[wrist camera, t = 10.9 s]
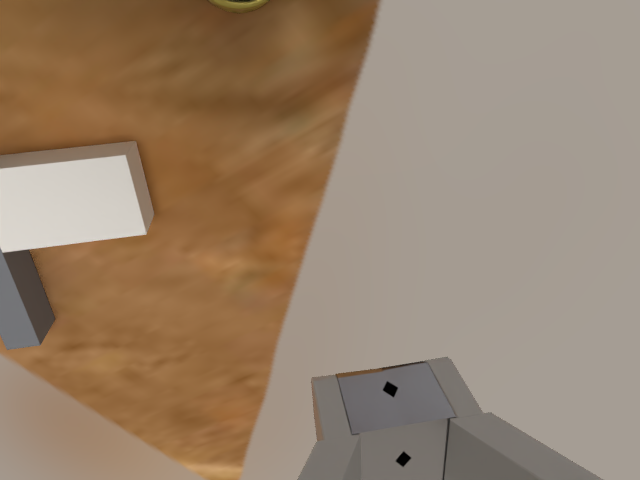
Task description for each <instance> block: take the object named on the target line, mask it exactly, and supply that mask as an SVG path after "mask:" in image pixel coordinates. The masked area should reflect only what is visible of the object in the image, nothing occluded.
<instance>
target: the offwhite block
mask: <svg viewBox="0 0 640 480" xmlns="http://www.w3.org/2000/svg"><path fill="white" fill-rule="evenodd" d="M153 216H154V211H153V207H152V203H151V199H150V195H149V191H148V187H147V183H146V179H145V175H144V171H143V167H142V163H141V159H140V155H139V151H138V147H137V143H136V141H129V142H120V143H111V144H101V145H92V146H82V147H73V148H64V149H54V150H45V151H35V152H26V153H17V154H7V155H0V248H1V250H2V253H3V252H11V251H19V250H27V249H35V248H43V247H51V246H58V245H66V244H74V243H82V242H90V241H98V240H106V239H113V238H121V237H129V236H137V235H145V234H147V232H148V229H149V227H150V224H151V222H152V219H153Z"/></svg>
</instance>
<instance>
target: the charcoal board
mask: <svg viewBox="0 0 640 480" xmlns="http://www.w3.org/2000/svg"><path fill="white" fill-rule="evenodd" d="M54 320H55V317H54V315H53V312H52V309H51V307H50V304H49V302H48V299H47V296H46V294H45V291H44V289H43V286H42V283H41V281H40V278H39V275H38V273H37V270H36V268H35V265H34V262H33V260H32V257H31V255H30V252H29V249H27V250H19V251H11V252H3V253H2V250H1V248H0V335H1V337H2V340H3V342H4V344H5V346H6V348H7V350H9V349H16V348H24V347H31V346H38V345H41V343H42V341H43V340H44V338H45V336H46V334H47V333H48V331H49V329H50V327H51V326H52V324H53V322H54Z"/></svg>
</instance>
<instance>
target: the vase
mask: <svg viewBox="0 0 640 480" xmlns="http://www.w3.org/2000/svg"><path fill="white" fill-rule="evenodd" d="M208 1H209V2H210V3H212V4H213V5H215V6H216V7H218V8H220V9H222V10H225V11H228V12H233V13H246V12H250V11H253V10H256V9H258V8H260V7H261V6H263V5H264V4H265V3H267V2H268V1H269V0H208Z"/></svg>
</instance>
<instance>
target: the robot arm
mask: <svg viewBox="0 0 640 480" xmlns="http://www.w3.org/2000/svg"><path fill="white" fill-rule="evenodd" d="M311 383H312V396H313V408H314V419H315V427H316V436H317V442H316V444H315V446H314V447H313V450H312V452H311V454H310V456H309V458H308V460H307V462H306V464H305V466H304V468H303V470H302V472H301V474H300V476H299V478H298V480H603V479H601V478H600V477H598V476H596V475H595V474H593V473H591V472H590V471H588V470H586V469H584V468H583V467H581V466H579V465H577V464H576V463H574V462H573V461H571V460H569V459H568V458H566V457H564V456H563V455H561V454H559V453H558V452H556V451H554V450H553V449H551V448H549V447H548V446H546V445H544V444H543V443H541V442H539V441H538V440H536V439H534V438H532V437H531V436H529V435H527V434H526V433H524V432H522V431H521V430H519V429H517V428H516V427H514V426H512V425H511V424H509V423H507V422H506V421H504V420H502V419H501V418H499V417H497V416H496V415H494V414H492V413H483V412H482V410H481V408H480V407H479V405H478V403H477V402H476V400H475V398H474V397H473V395H472V393H471V392H470V390H469V389H468V387H467V385H466V384H465V382H464V380H463V379H462V377H461V375H460V374H459V372H458V370H457V369H456V367H455V365H454V364H453V362H452V360H451V359H449V358H448V357H443V358H438V359H431V360H426V361H420V362H414V363H408V364H402V365H396V366H389V367H383V368H378V369H370V370H363V371H355V372H347V373H339V374H336V375H328V376H321V377H312V380H311Z"/></svg>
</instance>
